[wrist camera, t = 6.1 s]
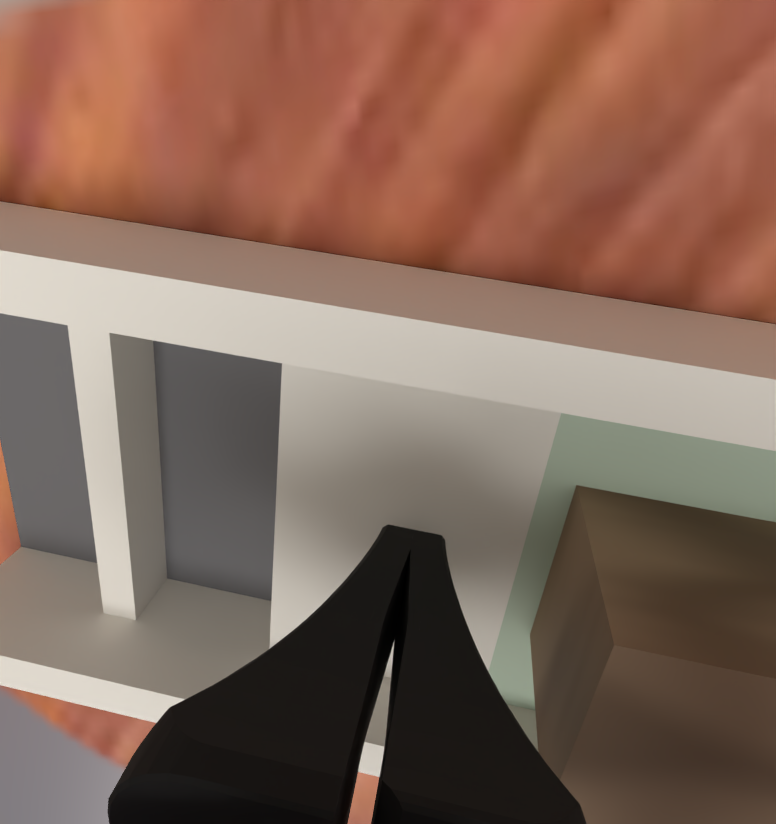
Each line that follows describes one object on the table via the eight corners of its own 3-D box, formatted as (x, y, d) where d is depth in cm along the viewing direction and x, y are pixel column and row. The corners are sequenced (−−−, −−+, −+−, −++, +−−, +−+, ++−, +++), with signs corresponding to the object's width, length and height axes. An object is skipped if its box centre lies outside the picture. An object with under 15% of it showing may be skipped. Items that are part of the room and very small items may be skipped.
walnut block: (792, 525, 12) (935, 713, 8) (714, 673, 14) (800, 883, 10) (576, 485, 13) (613, 644, 9) (529, 634, 15) (543, 821, 11)
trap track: (935, 349, 12) (1116, 436, 9) (723, 724, 18) (782, 874, 14) (-41, 194, 14) (-218, 213, 11) (30, 571, 20) (-72, 667, 16)
